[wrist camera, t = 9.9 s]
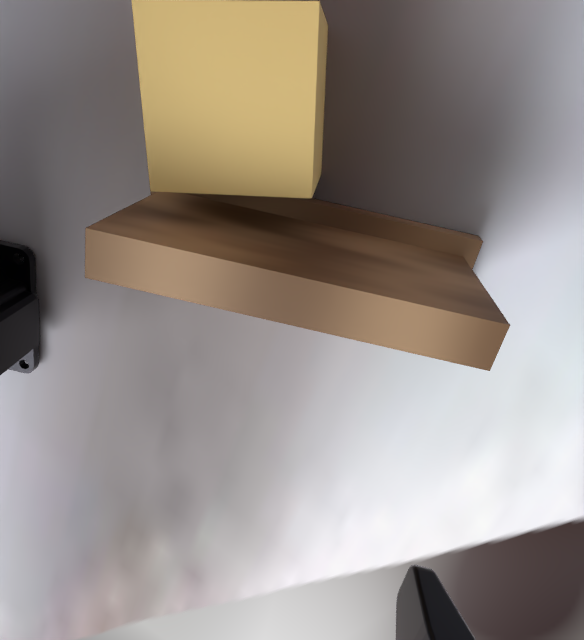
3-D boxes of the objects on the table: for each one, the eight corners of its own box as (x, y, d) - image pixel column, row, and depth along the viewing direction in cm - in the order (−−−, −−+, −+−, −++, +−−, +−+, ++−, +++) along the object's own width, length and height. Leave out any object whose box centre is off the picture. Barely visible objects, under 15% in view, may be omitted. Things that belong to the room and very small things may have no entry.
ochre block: (196, 169, 20) (150, 191, 15) (188, 24, 17) (131, -1, 13) (321, 173, 19) (311, 198, 15) (328, 25, 17) (319, 1, 12)
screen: (154, 235, 21) (68, 297, 14) (159, 164, 19) (68, 197, 13) (452, 303, 21) (497, 396, 14) (478, 235, 19) (539, 304, 13)
